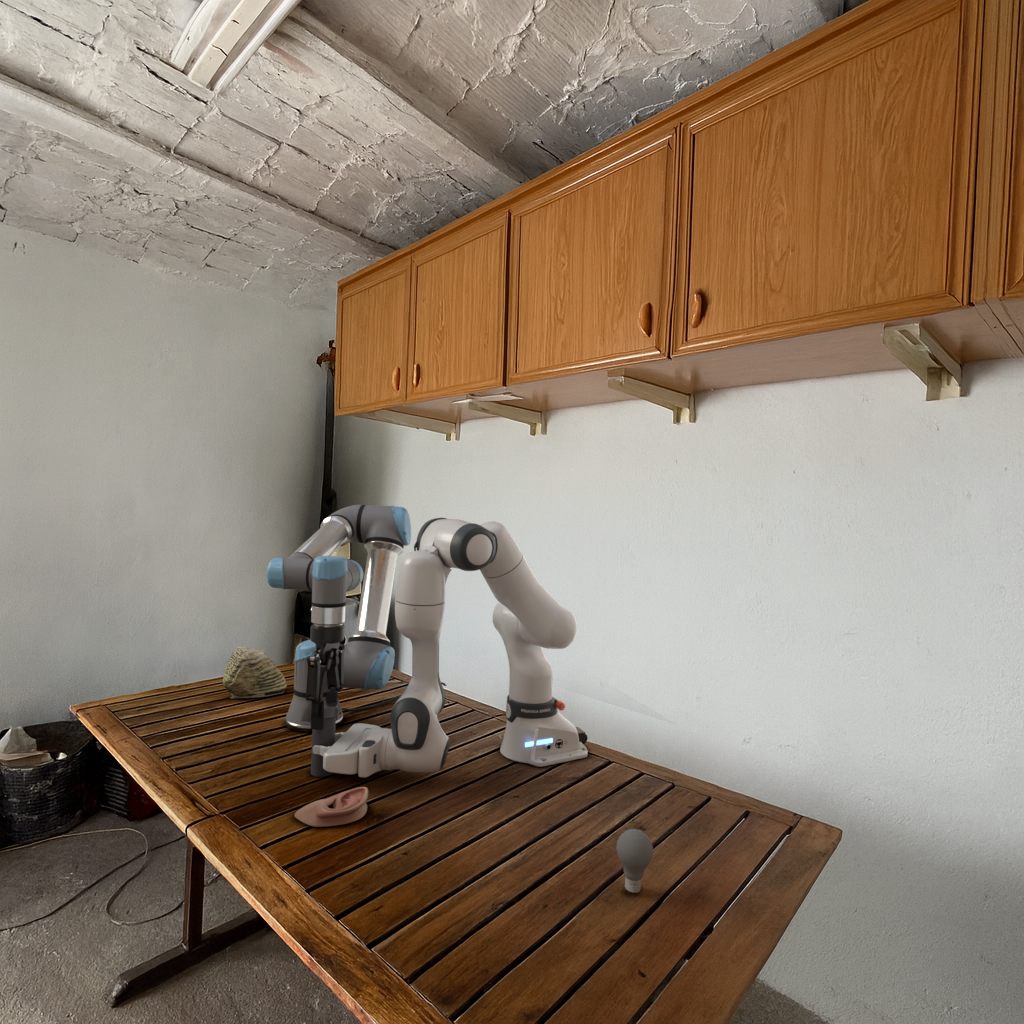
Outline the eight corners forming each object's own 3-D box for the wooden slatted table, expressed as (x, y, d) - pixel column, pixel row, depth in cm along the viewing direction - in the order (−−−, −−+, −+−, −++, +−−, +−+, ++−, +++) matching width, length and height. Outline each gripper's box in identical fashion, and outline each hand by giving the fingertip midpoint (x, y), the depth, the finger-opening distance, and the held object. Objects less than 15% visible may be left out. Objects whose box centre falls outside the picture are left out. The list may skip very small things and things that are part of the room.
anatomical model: (286, 802, 122) (316, 777, 134) (285, 822, 122) (315, 795, 134) (350, 811, 120) (375, 785, 131) (349, 832, 120) (374, 804, 131)
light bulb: (610, 879, 108) (613, 822, 108) (644, 879, 109) (647, 822, 109) (619, 902, 102) (622, 840, 102) (655, 901, 103) (658, 840, 103)
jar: (333, 766, 149) (335, 702, 148) (333, 776, 144) (336, 709, 144) (310, 768, 147) (313, 703, 147) (310, 777, 142) (313, 710, 142)
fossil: (218, 695, 195) (220, 647, 195) (278, 685, 208) (279, 640, 207) (228, 703, 189) (230, 653, 188) (289, 692, 201) (290, 645, 201)
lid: (337, 709, 149) (337, 700, 149) (338, 718, 143) (338, 708, 143) (311, 710, 147) (311, 701, 147) (310, 719, 142) (311, 709, 142)
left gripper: (332, 615, 155) (329, 709, 155) (290, 630, 136) (286, 736, 137) (361, 618, 153) (357, 712, 154) (322, 633, 135) (318, 741, 135)
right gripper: (391, 719, 154) (337, 714, 156) (364, 751, 134) (301, 746, 135) (390, 744, 155) (335, 740, 156) (362, 781, 134) (300, 775, 136)
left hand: (324, 724), depth 145 cm, fingers closed on lid, 6 cm apart
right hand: (319, 743), depth 145 cm, fingers closed on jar, 5 cm apart
